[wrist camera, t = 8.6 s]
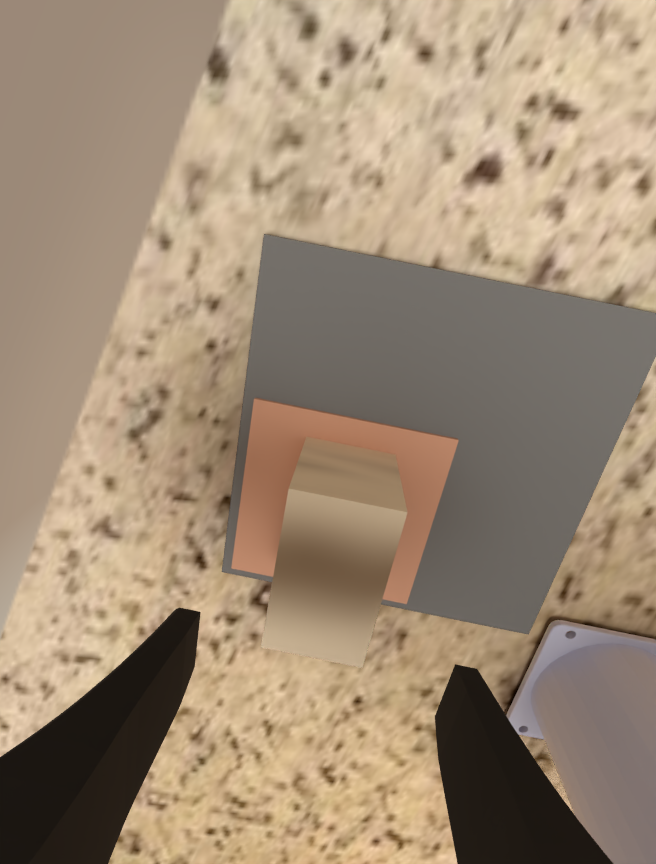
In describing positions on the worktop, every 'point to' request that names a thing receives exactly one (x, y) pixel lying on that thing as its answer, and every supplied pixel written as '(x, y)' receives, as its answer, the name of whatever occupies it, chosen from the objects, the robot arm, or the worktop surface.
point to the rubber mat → (436, 417)
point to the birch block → (334, 552)
